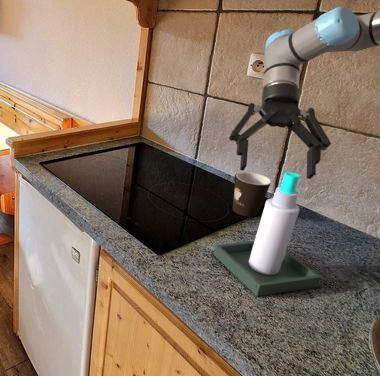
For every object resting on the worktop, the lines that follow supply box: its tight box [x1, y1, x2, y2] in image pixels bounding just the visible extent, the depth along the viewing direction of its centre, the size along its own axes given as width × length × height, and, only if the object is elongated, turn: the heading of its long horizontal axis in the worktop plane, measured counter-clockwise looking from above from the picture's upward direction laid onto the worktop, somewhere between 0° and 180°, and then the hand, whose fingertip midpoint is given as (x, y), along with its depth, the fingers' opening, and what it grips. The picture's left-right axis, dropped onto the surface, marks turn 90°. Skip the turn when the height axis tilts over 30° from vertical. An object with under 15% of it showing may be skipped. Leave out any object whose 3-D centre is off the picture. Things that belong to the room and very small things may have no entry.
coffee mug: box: [232, 171, 272, 218], centre depth 112 cm, size 12×9×10 cm
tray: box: [213, 240, 322, 297], centre depth 87 cm, size 15×15×3 cm
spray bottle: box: [249, 171, 301, 275], centre depth 83 cm, size 6×6×22 cm
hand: (276, 172), depth 89 cm, fingers open, 13 cm apart
